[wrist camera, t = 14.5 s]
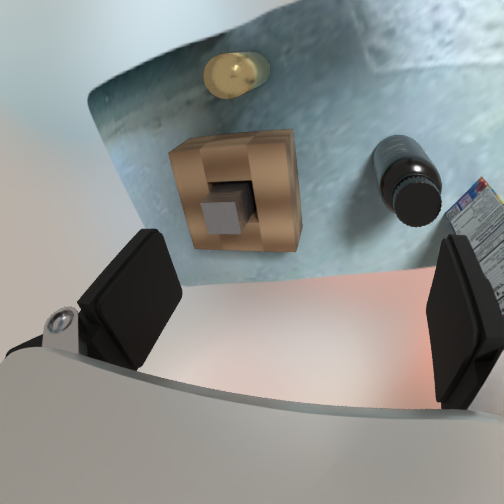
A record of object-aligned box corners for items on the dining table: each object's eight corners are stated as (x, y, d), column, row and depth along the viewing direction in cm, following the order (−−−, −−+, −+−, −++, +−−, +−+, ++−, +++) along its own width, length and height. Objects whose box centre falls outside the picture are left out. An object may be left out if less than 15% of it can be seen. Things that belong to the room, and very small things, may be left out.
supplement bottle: (371, 183, 38) (378, 234, 29) (373, 131, 34) (384, 166, 25) (422, 187, 36) (444, 239, 27) (427, 136, 32) (457, 173, 23)
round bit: (230, 54, 33) (199, 58, 26) (267, 49, 31) (245, 49, 24) (236, 89, 35) (208, 102, 28) (273, 85, 34) (253, 96, 27)
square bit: (229, 168, 42) (200, 203, 35) (258, 167, 41) (234, 201, 33) (234, 195, 44) (208, 233, 37) (262, 194, 43) (241, 234, 36)
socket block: (189, 138, 41) (168, 153, 36) (292, 129, 37) (284, 142, 32) (210, 226, 49) (194, 249, 44) (302, 227, 45) (296, 252, 40)
